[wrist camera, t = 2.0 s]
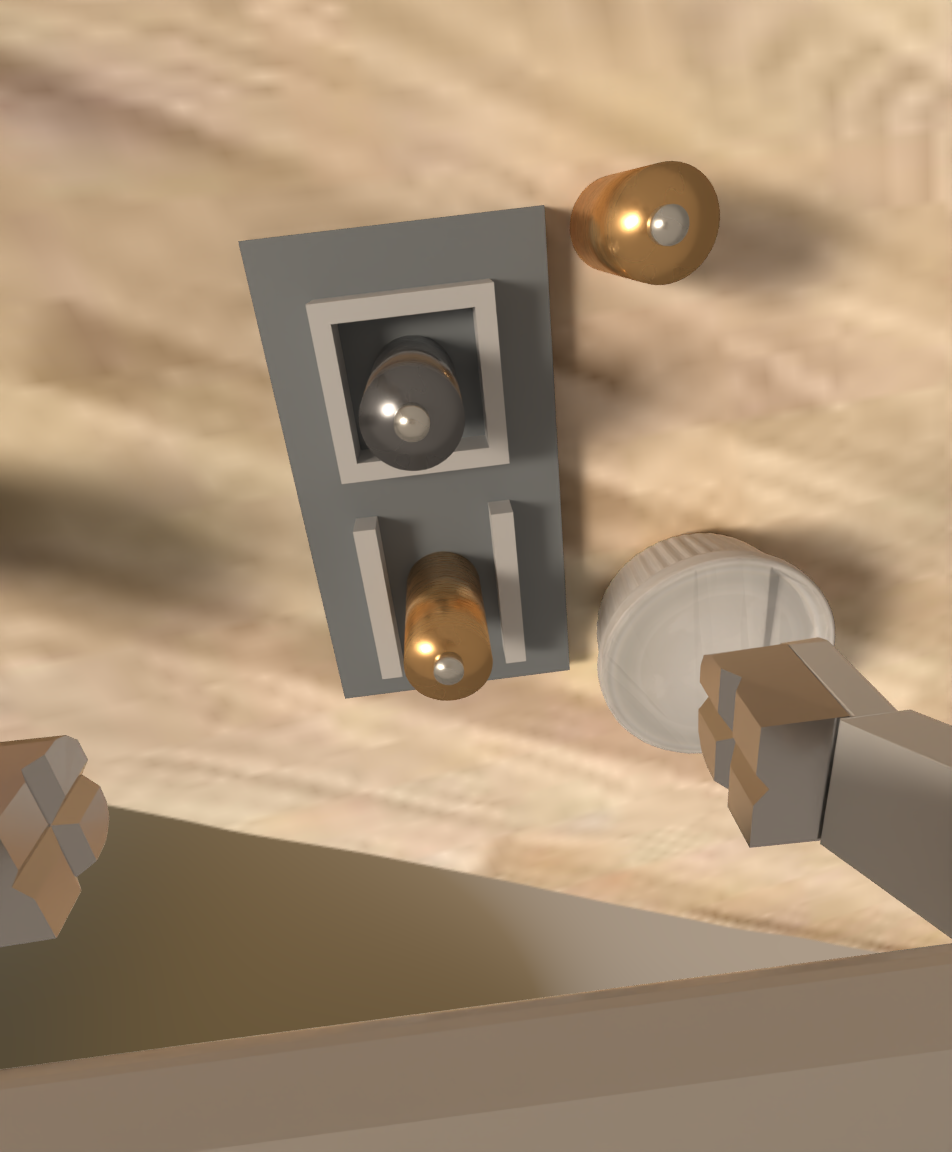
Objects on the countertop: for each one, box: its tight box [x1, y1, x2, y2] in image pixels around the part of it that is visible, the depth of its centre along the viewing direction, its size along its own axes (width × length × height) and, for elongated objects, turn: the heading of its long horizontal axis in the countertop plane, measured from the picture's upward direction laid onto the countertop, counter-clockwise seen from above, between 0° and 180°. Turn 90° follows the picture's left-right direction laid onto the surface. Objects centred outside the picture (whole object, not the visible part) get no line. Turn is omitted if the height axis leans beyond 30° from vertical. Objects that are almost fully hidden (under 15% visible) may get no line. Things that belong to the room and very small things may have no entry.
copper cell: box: [570, 161, 720, 285], centre depth 26 cm, size 4×4×8 cm
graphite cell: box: [359, 335, 465, 471], centre depth 27 cm, size 4×4×8 cm
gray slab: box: [238, 205, 570, 699], centre depth 32 cm, size 22×12×3 cm, turn 6°
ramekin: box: [597, 533, 835, 753], centre depth 36 cm, size 11×11×5 cm
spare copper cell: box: [404, 551, 493, 701], centre depth 31 cm, size 4×4×8 cm
